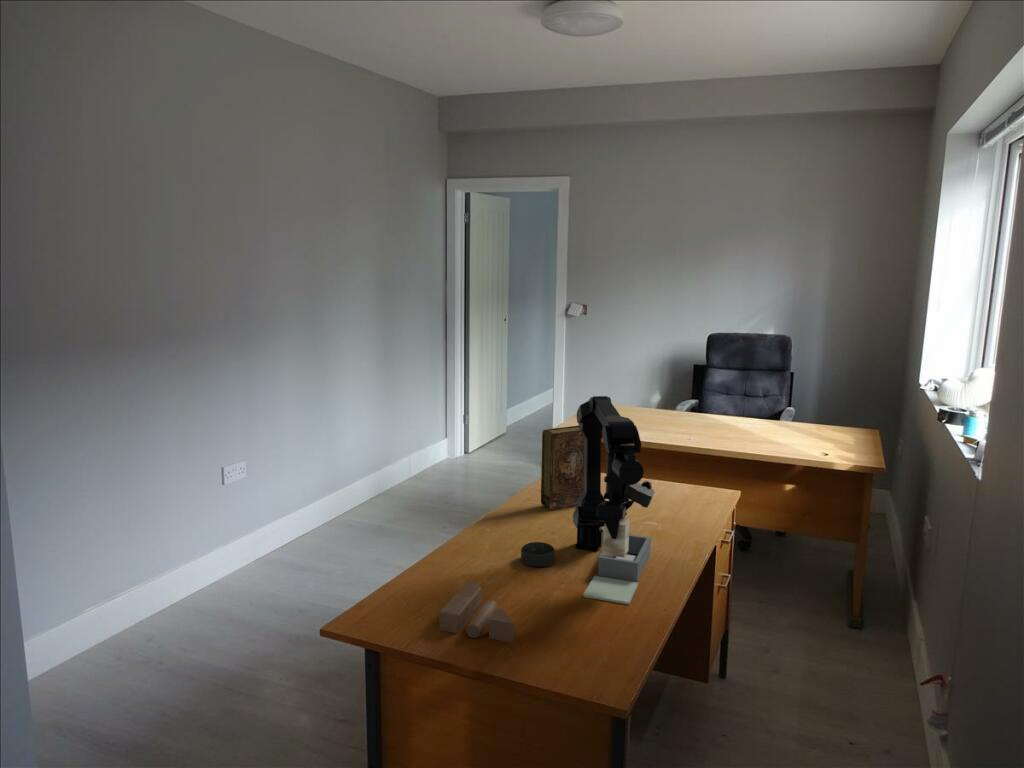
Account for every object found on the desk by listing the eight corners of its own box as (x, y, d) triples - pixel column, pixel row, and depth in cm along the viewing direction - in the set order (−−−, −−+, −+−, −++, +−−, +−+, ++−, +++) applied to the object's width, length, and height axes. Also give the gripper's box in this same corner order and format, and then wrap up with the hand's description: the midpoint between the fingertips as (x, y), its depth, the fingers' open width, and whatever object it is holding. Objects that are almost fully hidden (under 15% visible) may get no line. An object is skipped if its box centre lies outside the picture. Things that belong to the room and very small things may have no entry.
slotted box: (597, 575, 193) (598, 557, 192) (613, 549, 210) (614, 532, 209) (637, 582, 190) (638, 563, 189) (650, 554, 206) (651, 537, 205)
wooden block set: (436, 609, 164) (467, 575, 181) (437, 633, 165) (467, 597, 182) (512, 621, 159) (536, 585, 176) (512, 646, 160) (535, 608, 177)
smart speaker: (514, 561, 201) (514, 547, 201) (536, 552, 208) (536, 538, 207) (539, 572, 195) (539, 557, 195) (561, 561, 202) (561, 547, 201)
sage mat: (583, 596, 182) (583, 594, 182) (594, 578, 192) (594, 575, 192) (628, 604, 178) (629, 602, 178) (638, 585, 188) (638, 582, 188)
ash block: (603, 554, 184) (604, 523, 182) (608, 547, 188) (609, 516, 187) (624, 557, 182) (625, 525, 181) (628, 550, 187) (629, 518, 185)
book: (584, 498, 251) (586, 424, 246) (593, 503, 246) (595, 428, 241) (540, 505, 243) (542, 429, 239) (549, 511, 239) (550, 433, 234)
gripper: (645, 487, 170) (643, 553, 173) (658, 465, 188) (656, 526, 190) (596, 481, 174) (594, 546, 177) (613, 461, 191) (612, 520, 194)
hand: (616, 534), depth 184 cm, fingers closed on ash block, 5 cm apart
